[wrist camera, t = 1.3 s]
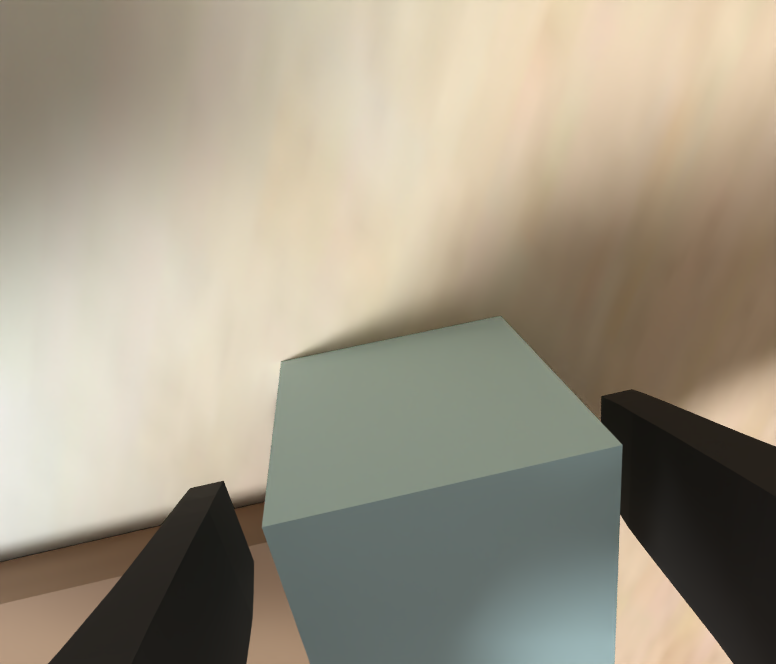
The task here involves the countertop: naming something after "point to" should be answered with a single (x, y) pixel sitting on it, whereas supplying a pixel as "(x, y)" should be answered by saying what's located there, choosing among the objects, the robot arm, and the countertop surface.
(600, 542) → the teal cube
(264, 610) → the plate
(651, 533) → the robot arm
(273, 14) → the countertop surface
